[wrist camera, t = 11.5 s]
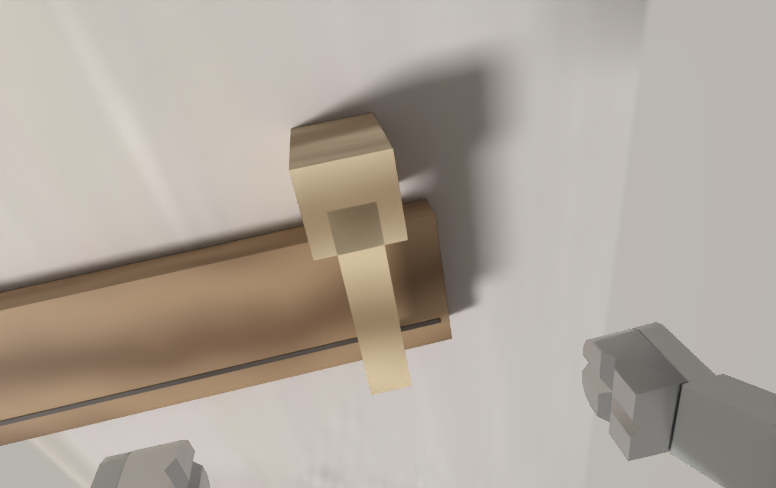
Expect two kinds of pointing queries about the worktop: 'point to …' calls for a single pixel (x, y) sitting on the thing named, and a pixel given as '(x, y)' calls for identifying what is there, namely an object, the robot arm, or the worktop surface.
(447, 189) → the worktop surface
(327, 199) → the beige mallet
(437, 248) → the board
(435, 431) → the worktop surface
